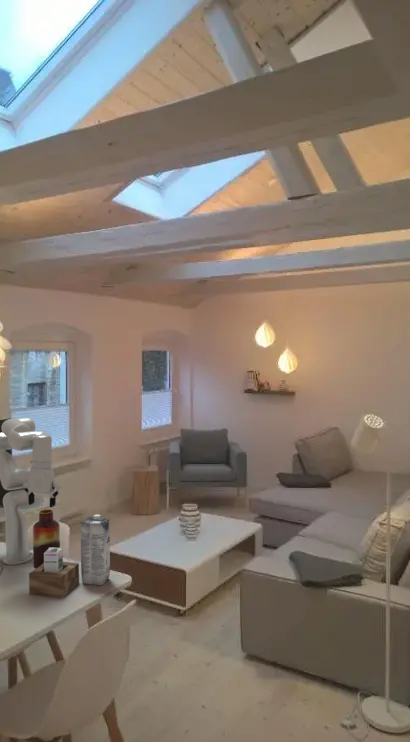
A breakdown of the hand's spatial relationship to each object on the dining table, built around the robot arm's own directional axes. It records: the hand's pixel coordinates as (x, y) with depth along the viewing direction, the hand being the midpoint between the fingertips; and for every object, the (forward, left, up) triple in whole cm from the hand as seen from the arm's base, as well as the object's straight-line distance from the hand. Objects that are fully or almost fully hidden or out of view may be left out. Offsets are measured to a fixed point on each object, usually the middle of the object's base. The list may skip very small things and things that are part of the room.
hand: (41, 505), depth 226 cm
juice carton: (-4, +22, -31) cm, 38 cm away
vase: (-8, -3, -31) cm, 33 cm away
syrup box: (+6, +9, -30) cm, 32 cm away
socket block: (+6, +9, -31) cm, 33 cm away
